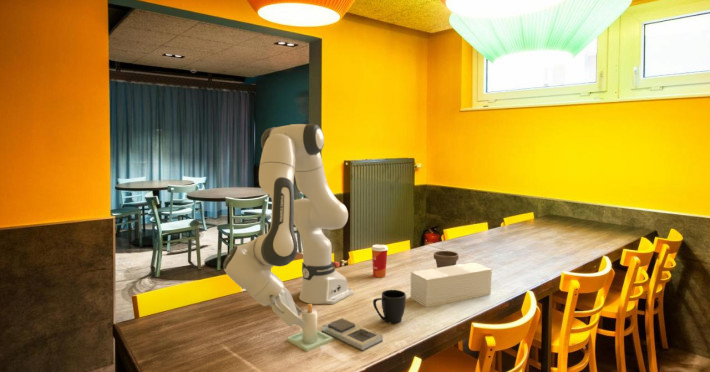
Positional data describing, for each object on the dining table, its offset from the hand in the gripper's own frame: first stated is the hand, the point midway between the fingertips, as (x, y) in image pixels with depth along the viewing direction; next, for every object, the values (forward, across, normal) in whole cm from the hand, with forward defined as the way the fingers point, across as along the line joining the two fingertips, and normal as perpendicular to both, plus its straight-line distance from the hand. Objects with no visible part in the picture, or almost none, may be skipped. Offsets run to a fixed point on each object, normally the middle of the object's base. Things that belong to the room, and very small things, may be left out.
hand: (302, 319), depth 129 cm
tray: (+7, 0, +4) cm, 8 cm away
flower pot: (+58, +51, -47) cm, 91 cm away
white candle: (+6, 0, +3) cm, 7 cm away
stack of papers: (+50, +25, -40) cm, 69 cm away
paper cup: (+36, +56, -26) cm, 72 cm away
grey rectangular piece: (+16, 0, -6) cm, 17 cm away
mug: (+27, +9, -16) cm, 33 cm away
